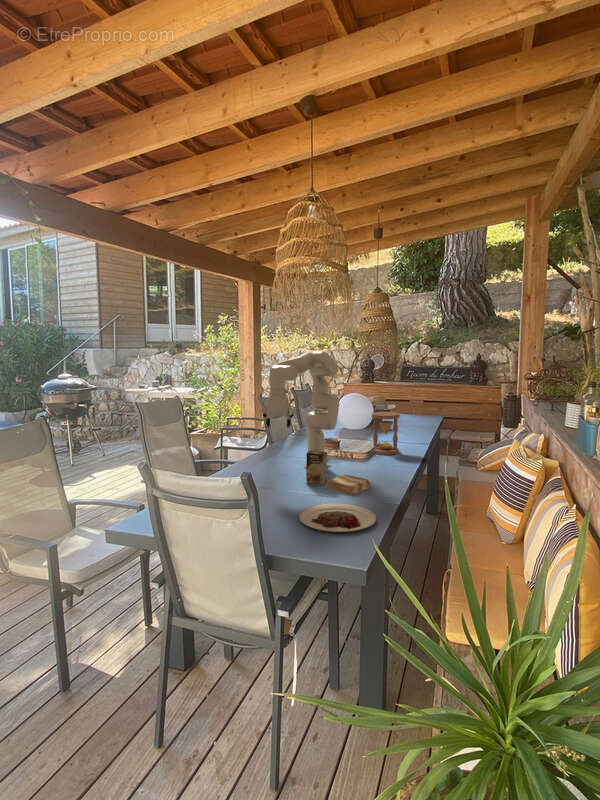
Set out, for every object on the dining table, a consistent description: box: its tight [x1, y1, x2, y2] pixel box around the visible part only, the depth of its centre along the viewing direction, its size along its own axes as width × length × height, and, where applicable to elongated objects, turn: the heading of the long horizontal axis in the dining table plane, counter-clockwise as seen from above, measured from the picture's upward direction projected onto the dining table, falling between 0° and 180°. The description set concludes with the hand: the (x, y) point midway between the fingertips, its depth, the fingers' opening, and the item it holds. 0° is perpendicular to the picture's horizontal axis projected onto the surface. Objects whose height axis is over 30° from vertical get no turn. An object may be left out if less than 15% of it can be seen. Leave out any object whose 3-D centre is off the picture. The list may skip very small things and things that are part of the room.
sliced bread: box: [325, 474, 371, 496], centre depth 228 cm, size 15×15×4 cm
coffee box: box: [305, 450, 328, 487], centre depth 235 cm, size 9×6×16 cm
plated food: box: [299, 503, 377, 533], centre depth 186 cm, size 30×30×3 cm
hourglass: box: [371, 411, 401, 456], centre depth 304 cm, size 18×18×25 cm
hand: (278, 427), depth 231 cm, fingers open, 9 cm apart
